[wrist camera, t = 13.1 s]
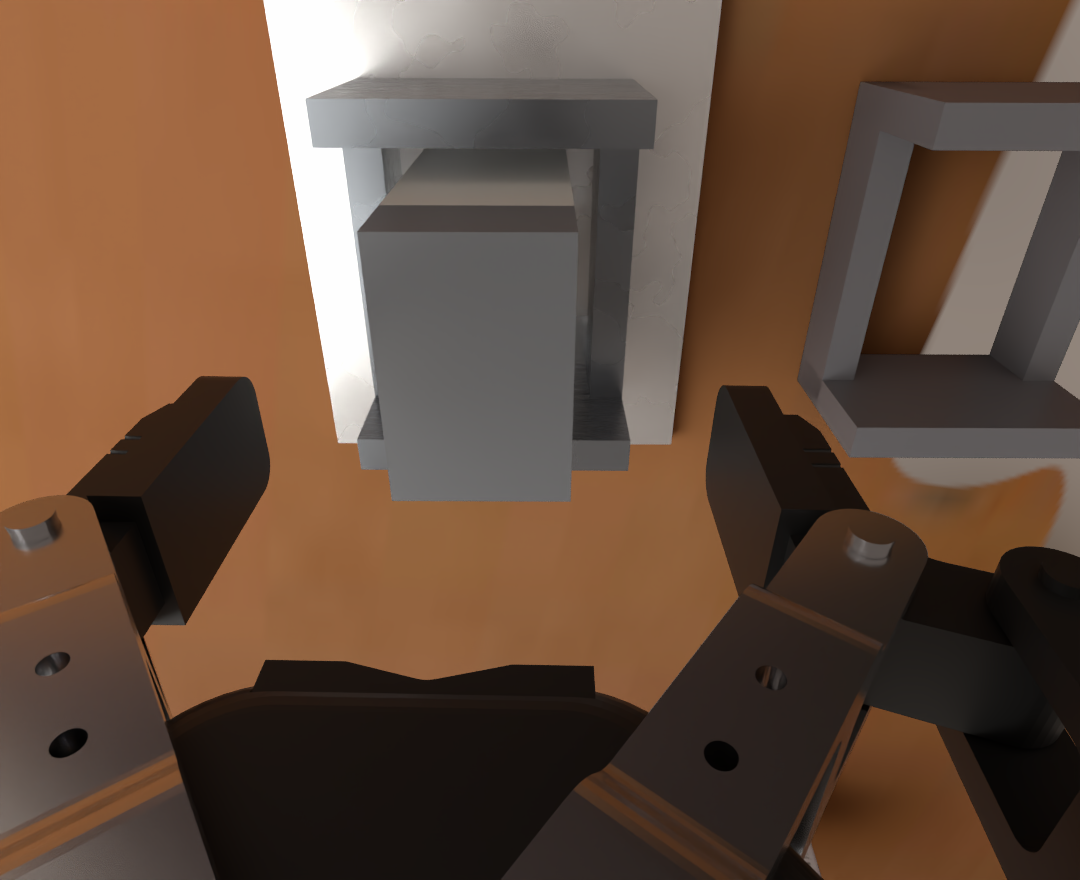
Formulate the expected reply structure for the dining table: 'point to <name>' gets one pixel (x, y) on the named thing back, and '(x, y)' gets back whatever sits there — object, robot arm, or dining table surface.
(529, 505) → the dining table surface
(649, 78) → the block
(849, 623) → the robot arm
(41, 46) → the dining table surface
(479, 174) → the plug
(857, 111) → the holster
